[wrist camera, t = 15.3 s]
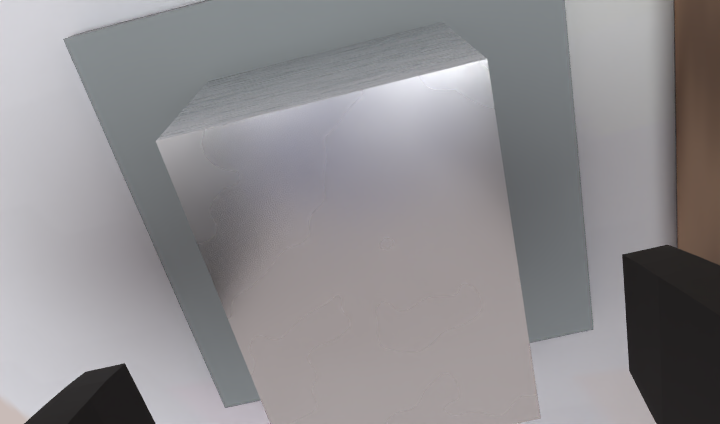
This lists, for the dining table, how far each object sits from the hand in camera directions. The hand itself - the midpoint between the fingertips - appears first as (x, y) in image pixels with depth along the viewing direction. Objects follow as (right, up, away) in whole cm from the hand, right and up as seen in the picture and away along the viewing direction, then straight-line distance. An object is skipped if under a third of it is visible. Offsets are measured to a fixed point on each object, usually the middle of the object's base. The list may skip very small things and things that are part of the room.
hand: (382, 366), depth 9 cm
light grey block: (0, +2, +5) cm, 6 cm away
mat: (0, +3, +6) cm, 6 cm away
